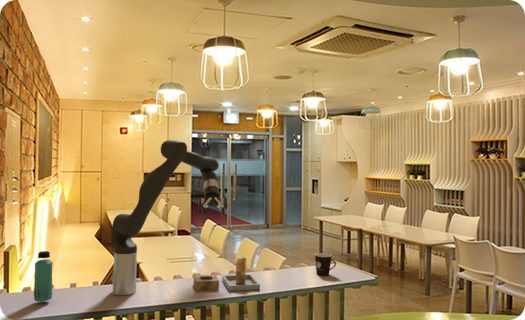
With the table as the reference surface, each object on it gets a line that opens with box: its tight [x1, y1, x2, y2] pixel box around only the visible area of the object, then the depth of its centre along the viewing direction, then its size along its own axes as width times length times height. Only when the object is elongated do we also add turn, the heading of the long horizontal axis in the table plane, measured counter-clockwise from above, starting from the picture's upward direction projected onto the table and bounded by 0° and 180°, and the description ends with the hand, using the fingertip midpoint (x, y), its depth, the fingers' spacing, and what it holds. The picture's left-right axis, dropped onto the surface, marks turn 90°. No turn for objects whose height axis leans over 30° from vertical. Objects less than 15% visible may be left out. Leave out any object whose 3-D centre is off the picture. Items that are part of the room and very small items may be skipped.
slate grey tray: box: [221, 273, 261, 293], centre depth 198 cm, size 14×17×2 cm
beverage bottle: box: [33, 250, 54, 302], centre depth 167 cm, size 6×7×20 cm
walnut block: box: [193, 274, 220, 292], centre depth 193 cm, size 10×10×4 cm
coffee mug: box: [314, 252, 337, 277], centre depth 219 cm, size 12×9×10 cm
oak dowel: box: [235, 256, 247, 285], centre depth 198 cm, size 4×4×12 cm
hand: (214, 215), depth 209 cm, fingers open, 8 cm apart
